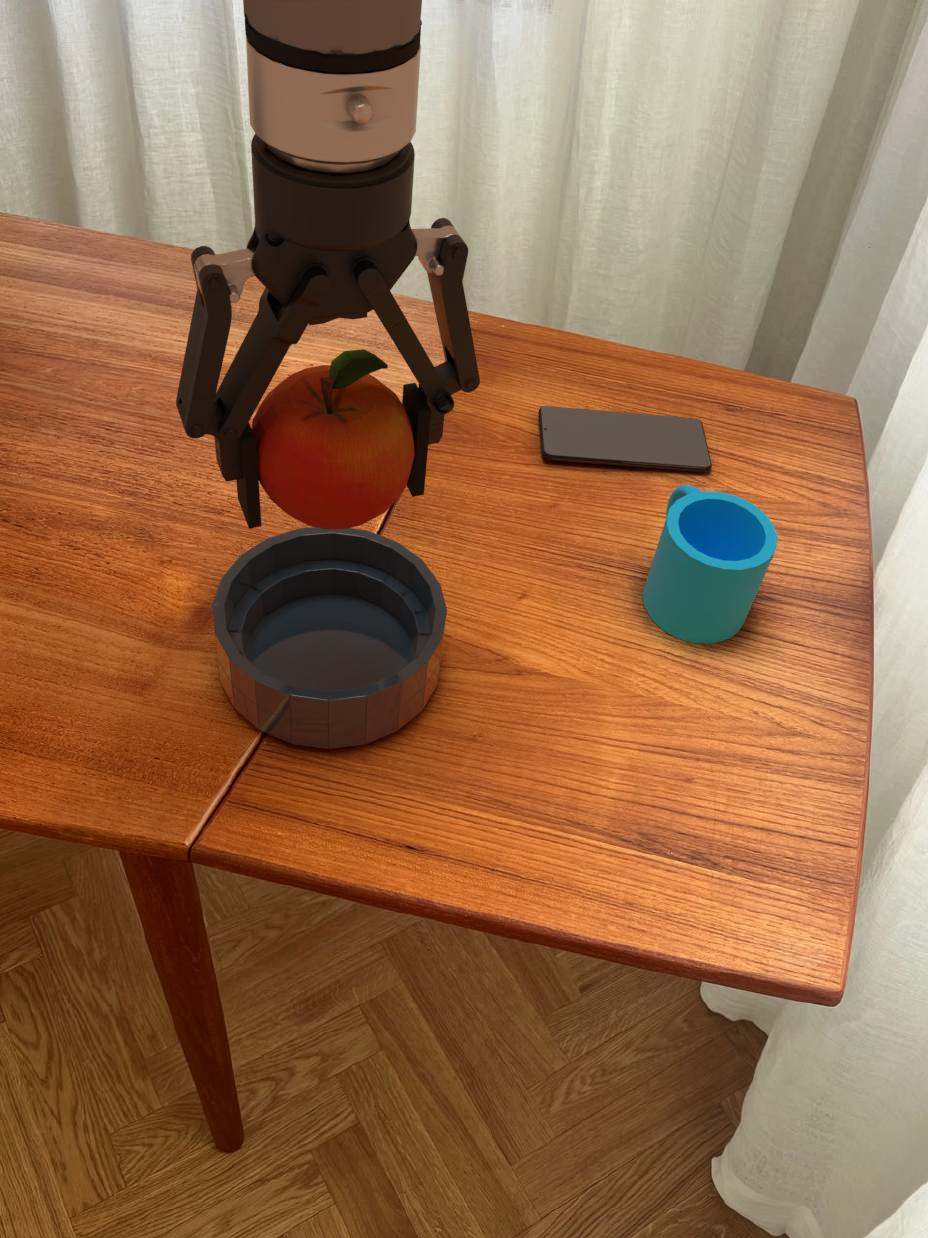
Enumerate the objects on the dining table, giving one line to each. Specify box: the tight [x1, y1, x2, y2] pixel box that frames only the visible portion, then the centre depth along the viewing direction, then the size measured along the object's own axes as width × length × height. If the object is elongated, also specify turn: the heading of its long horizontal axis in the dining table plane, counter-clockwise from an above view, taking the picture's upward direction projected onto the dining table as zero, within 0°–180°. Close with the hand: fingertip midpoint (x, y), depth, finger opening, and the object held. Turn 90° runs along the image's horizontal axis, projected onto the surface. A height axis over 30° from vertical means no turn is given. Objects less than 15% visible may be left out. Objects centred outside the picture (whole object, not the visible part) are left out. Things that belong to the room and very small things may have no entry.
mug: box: [641, 484, 779, 645], centre depth 85 cm, size 12×8×8 cm
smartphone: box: [537, 405, 713, 473], centre depth 98 cm, size 7×1×15 cm
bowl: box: [211, 526, 448, 750], centre depth 77 cm, size 16×16×6 cm
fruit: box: [251, 348, 415, 529], centre depth 64 cm, size 10×10×10 cm
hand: (331, 496), depth 68 cm, fingers closed on fruit, 9 cm apart
